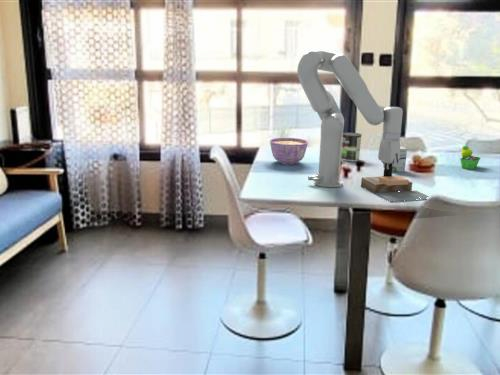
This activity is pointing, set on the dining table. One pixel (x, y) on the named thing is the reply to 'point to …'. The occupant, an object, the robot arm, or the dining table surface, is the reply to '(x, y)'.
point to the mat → (402, 195)
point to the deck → (382, 186)
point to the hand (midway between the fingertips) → (387, 177)
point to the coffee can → (351, 146)
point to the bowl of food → (288, 149)
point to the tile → (393, 180)
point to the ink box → (401, 160)
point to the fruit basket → (468, 159)
